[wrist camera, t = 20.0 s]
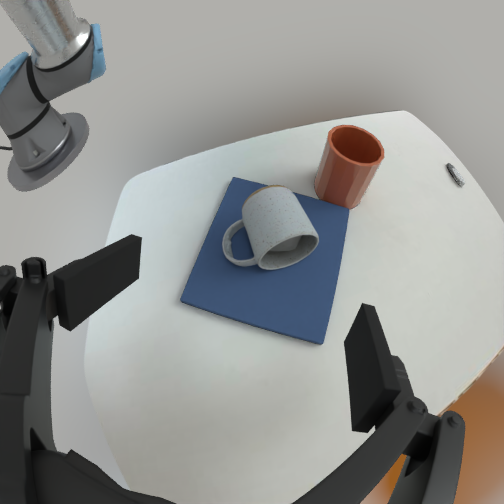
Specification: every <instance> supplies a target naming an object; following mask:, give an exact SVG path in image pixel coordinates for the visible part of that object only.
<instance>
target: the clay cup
mask: <svg viewBox="0 0 504 504" xmlns="http://www.w3.org/2000/svg"><path fill="white" fill-rule="evenodd" d="M383 159H384V149H383V147H382V145H381V143H380V141H379V140H378V139H377V138H376V137H375V136H374V135H372V134H371V133H369V132H368V131H366V130H364V129H362V128H359V127H356V126H353V125H340V126H336V127H334V128H332V129H331V130H330V131H329V133H328V136H327V140H326V143H325V147H324V150H323V154H322V157H321V161H320V164H319V167H318V171H317V174H316V178H315V181H314V188H315V192H316V194H317V195H318V197H319V198H320V199H321V200H322V201H325V202H329V203H332V204H335V205H338V206H342V207H345V208H348V209H352V208H354V207H356V206H357V205H358V204H359V203H360V201H361V200H362V198H363V197H364V195H365V193H366V191H367V189H368V187H369V186H370V184H371V182H372V180H373V178H374V176H375V174H376V172H377V170H378V169H379V167H380V165H381V163H382V161H383Z"/></svg>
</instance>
